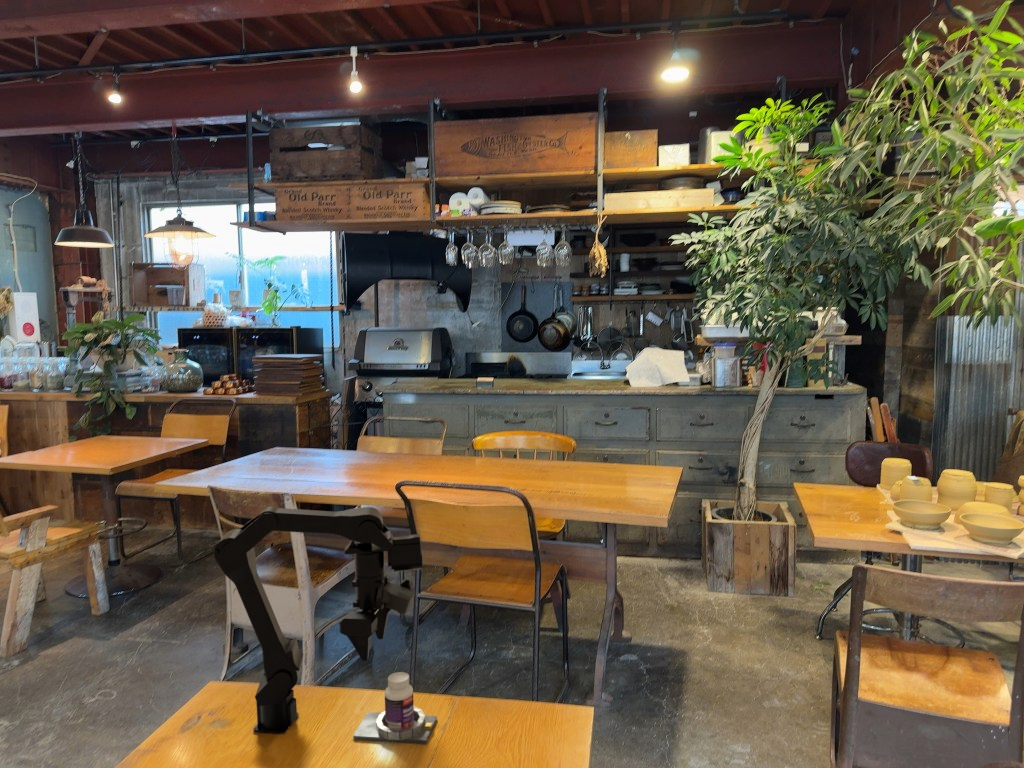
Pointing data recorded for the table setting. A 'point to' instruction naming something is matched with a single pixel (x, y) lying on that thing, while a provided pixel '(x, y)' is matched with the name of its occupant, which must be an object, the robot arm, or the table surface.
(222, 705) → the table surface
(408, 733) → the collar
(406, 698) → the pill bottle
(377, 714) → the plate
